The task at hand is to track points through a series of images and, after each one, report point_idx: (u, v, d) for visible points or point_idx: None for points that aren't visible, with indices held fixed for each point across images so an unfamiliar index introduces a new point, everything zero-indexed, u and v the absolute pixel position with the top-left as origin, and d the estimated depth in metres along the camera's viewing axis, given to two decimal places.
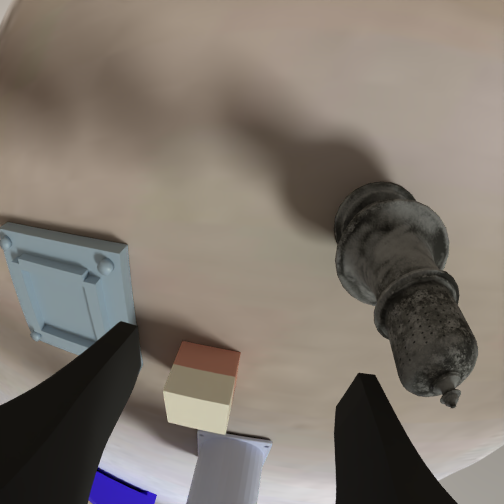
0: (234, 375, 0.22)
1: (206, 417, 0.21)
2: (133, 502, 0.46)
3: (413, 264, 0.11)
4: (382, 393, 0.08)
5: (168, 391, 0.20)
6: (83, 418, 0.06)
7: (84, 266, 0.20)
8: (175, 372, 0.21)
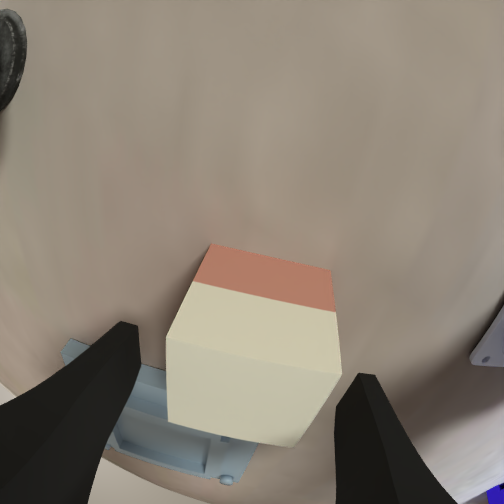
0: (193, 281, 0.10)
1: (244, 392, 0.08)
2: None
3: None
4: (382, 393, 0.08)
5: (169, 415, 0.10)
6: (83, 418, 0.06)
7: None
8: None
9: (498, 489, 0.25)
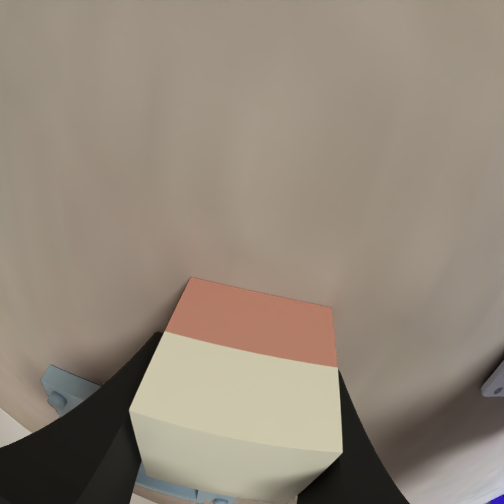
0: (165, 330, 0.08)
1: (227, 463, 0.06)
2: None
3: None
4: (343, 389, 0.08)
5: None
6: (128, 436, 0.06)
7: None
8: None
9: (502, 499, 0.23)
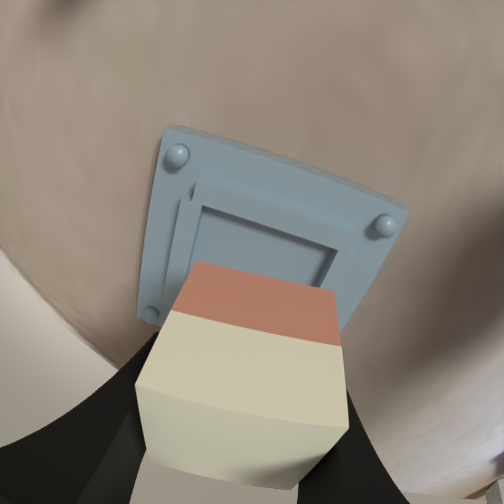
0: (171, 309, 0.08)
1: (233, 443, 0.07)
2: None
3: None
4: None
5: (150, 455, 0.08)
6: (128, 436, 0.06)
7: (182, 196, 0.15)
8: None
9: None
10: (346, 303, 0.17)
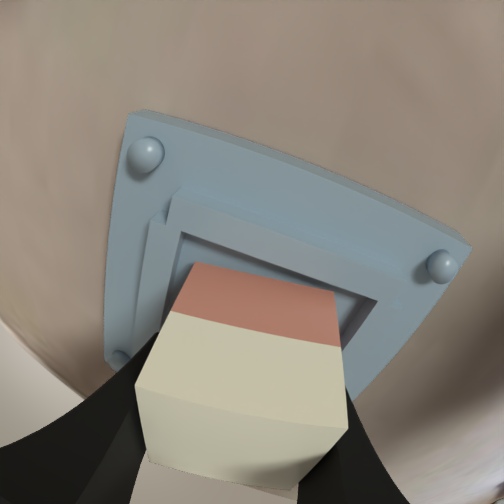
0: (171, 310, 0.08)
1: (232, 443, 0.07)
2: None
3: None
4: None
5: (149, 456, 0.08)
6: (128, 436, 0.06)
7: (154, 215, 0.10)
8: None
9: None
10: (375, 359, 0.12)
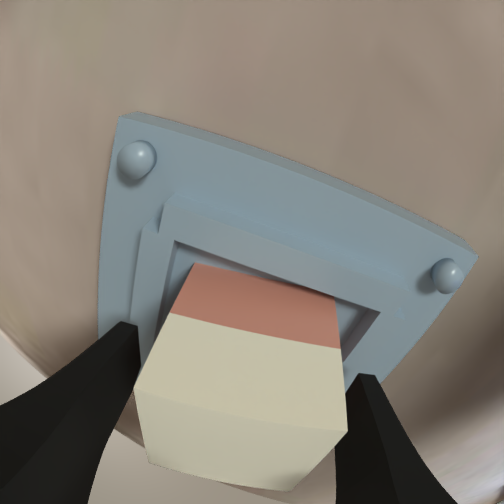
0: (170, 312, 0.08)
1: (231, 445, 0.07)
2: None
3: None
4: (382, 393, 0.08)
5: None
6: (83, 418, 0.06)
7: (146, 222, 0.10)
8: None
9: None
10: (376, 370, 0.12)
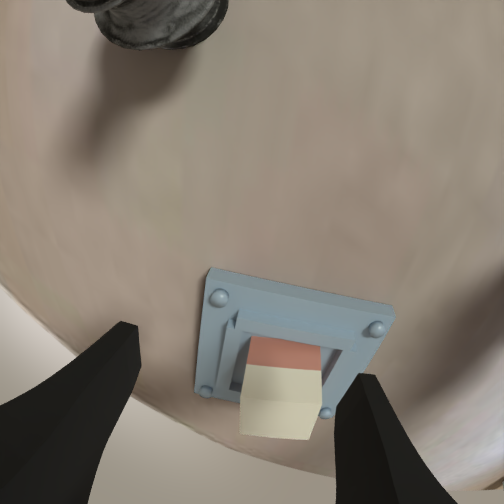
0: (246, 363, 0.19)
1: (278, 415, 0.17)
2: None
3: None
4: (382, 393, 0.08)
5: (240, 430, 0.19)
6: (83, 418, 0.06)
7: (226, 321, 0.20)
8: None
9: None
10: (352, 375, 0.22)
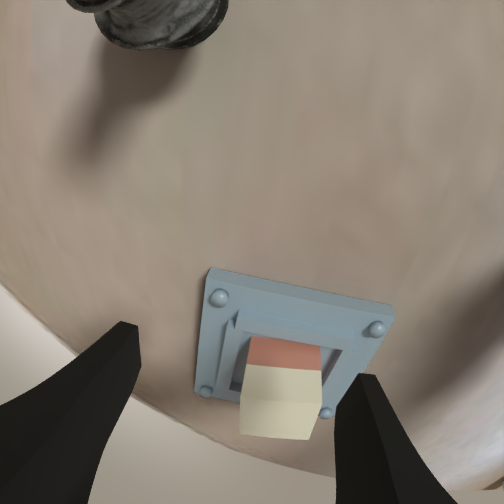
0: (246, 363, 0.19)
1: (278, 415, 0.17)
2: None
3: None
4: (382, 393, 0.08)
5: (240, 430, 0.19)
6: (83, 418, 0.06)
7: (226, 321, 0.20)
8: None
9: None
10: (352, 375, 0.22)
